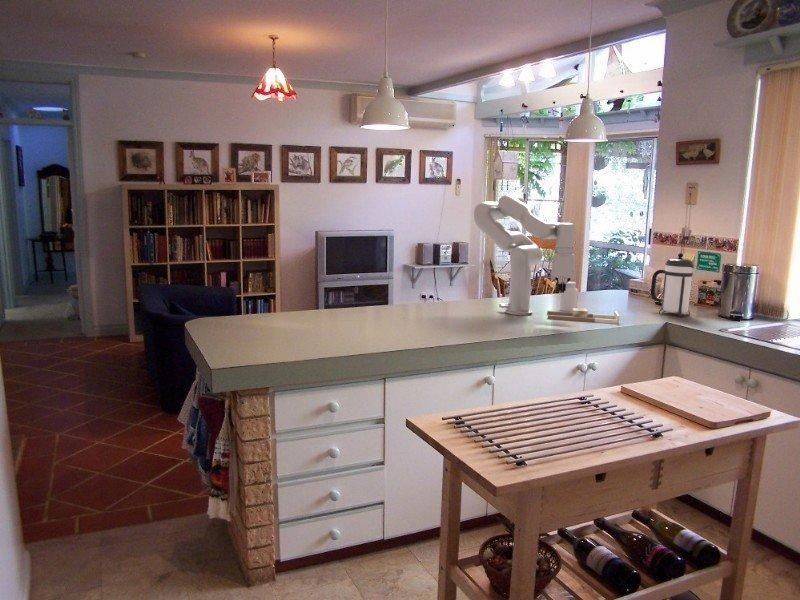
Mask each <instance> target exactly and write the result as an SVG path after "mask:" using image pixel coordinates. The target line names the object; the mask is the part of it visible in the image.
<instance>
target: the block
mask: <svg viewBox="0 0 800 600" xmlns="http://www.w3.org/2000/svg"><path fill="white" fill-rule="evenodd" d="M588 314H589V311H588V309H587V308H578V307H577V308H573V314H572V317H585V318H587V315H588Z"/></svg>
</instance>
